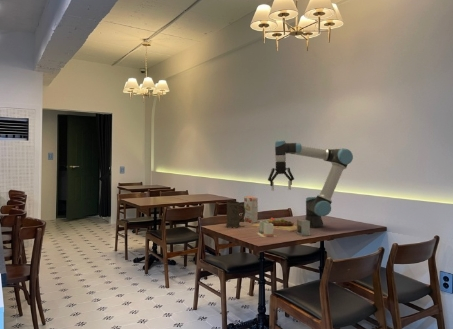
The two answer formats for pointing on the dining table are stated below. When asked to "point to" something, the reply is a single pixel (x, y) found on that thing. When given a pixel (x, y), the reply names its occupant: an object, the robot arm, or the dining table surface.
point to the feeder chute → (303, 227)
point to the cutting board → (281, 224)
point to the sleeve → (268, 229)
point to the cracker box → (251, 209)
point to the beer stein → (234, 214)
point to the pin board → (263, 235)
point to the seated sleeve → (262, 226)
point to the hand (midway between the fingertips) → (281, 190)
